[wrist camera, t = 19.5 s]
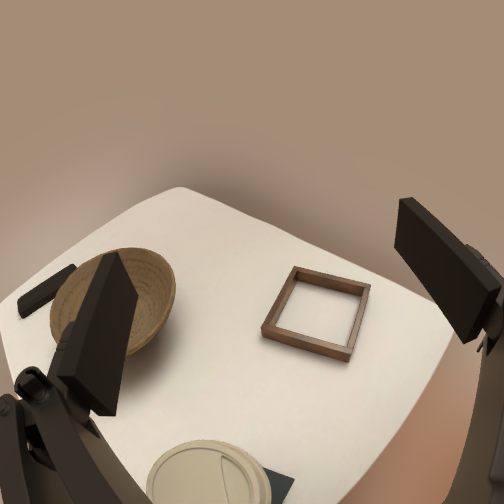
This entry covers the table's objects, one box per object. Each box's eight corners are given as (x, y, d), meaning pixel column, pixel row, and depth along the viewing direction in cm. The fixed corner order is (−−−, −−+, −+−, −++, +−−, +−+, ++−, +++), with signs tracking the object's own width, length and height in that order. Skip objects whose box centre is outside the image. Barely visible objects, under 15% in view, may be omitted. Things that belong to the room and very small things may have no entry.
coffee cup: (258, 545, 18) (239, 568, 10) (177, 515, 21) (119, 511, 13) (288, 475, 24) (288, 457, 16) (209, 450, 26) (170, 416, 18)
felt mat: (294, 479, 24) (294, 478, 23) (254, 549, 18) (254, 550, 17) (215, 447, 27) (213, 445, 27) (174, 511, 21) (172, 510, 21)
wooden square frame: (368, 294, 40) (371, 284, 39) (348, 362, 33) (351, 354, 32) (294, 275, 45) (293, 265, 43) (261, 336, 37) (260, 327, 36)
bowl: (219, 323, 40) (206, 282, 34) (116, 415, 30) (81, 388, 25) (144, 267, 50) (128, 230, 44) (61, 332, 40) (34, 299, 35)
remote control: (78, 268, 52) (19, 304, 45) (74, 261, 51) (14, 297, 44) (83, 281, 49) (21, 319, 42) (79, 274, 48) (16, 313, 41)
